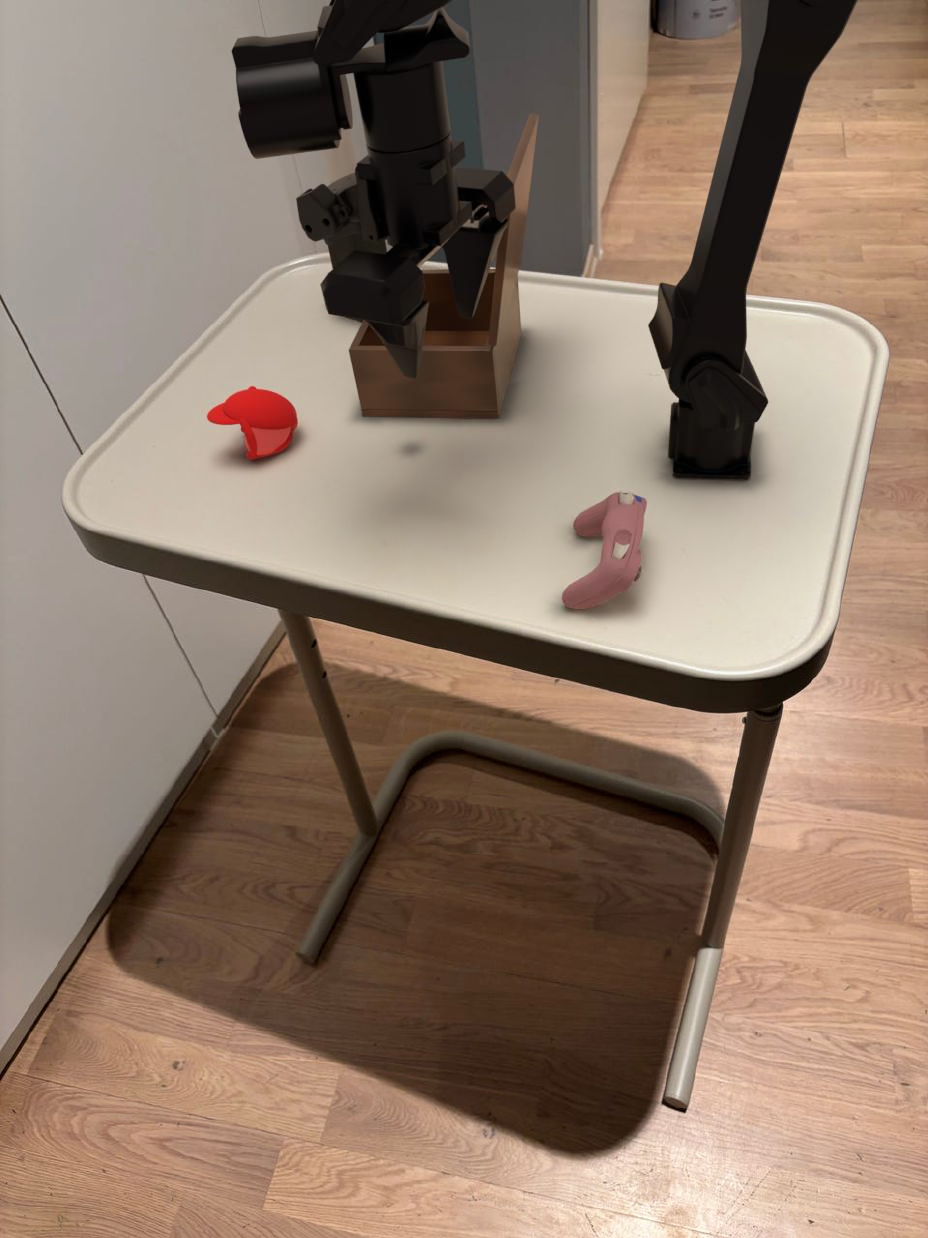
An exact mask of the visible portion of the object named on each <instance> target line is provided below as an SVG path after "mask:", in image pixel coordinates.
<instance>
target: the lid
mask: <svg viewBox="0 0 928 1238" xmlns="http://www.w3.org/2000/svg"><path fill="white" fill-rule="evenodd" d="M538 124H539V113H529V116H528V118H527V122H526V124H525V126H524V129H523V132H522V134H521V137H520V140H519V143H518V145H517V148H516V151H515V153H514V157H513V159H512V162H511V165H510V166H509V170H508V172H507V174H506V176H507V177H508V178H509V179H510V180H511V181H512V183H513V184H514V191H515V204H516V209H515V210H514V211H513V212H512V213H511V214H510V215H509V216H508V217H507V218H508V226H507V227H506V228H505V230H504V232H503V235H502V237H501V240H500V243H499V245H498V248H497V251H496V257H495V258H496V259H495V268H494V269H495V278H494V288H493V298H492V308H491V319H490V329H489V339H488V345H492V346H497V343H498V340H499V336H500V333H501V329H502V326H503V323H504V319H505V316H506V313H507V309H508V306H509V303H510V299H511V296H512V293H513V289H514V286H515V282H516V279H517V276H518V277H519V272H520V269H521V266H522V259H523V252H524V251H523V250H524V242H525V235H526V225H527V217H528V209H529V200H530V192H531V183H532V174H533V167H534V159H535V151H536V150H535V149H536V143H537V142H536V141H537V134H538V126H539V125H538Z"/></svg>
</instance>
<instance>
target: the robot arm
mask: <svg viewBox="0 0 928 1238" xmlns="http://www.w3.org/2000/svg"><path fill="white" fill-rule="evenodd" d="M452 1H453V0H330V1H329V4H328V5H324V6H323V7H322V8H321V11H320V12H321V13H320V15H319V19H318V23H317V26H316V28H317V30H311V31H305V32H297V33H291V34H283V35H277V36H259V35H250V36H244V37H243V36H242V37H237V39H236V40H235V42H234V45H233V46H232V49H231V55H232V59H233V63H234V66H235V67H234V68H235V83H236V92H237V98H238V99H237V100H238V105H239V110H238V120H239V124H240V127H241V131H242V134H243V138H244V141H245V143H246V146H247V149H248V150H249V153H250V154H251V156H252V157H253V158H254V159H256V160H259V159H267V158H268V159H269V158H273V157H274V158H275V157H281V156H289V155H295V154H304V153H311V152H318V151H319V152H320V151H324V150H327V149H334V148H338V147H339V145H340V140H342V135H341V128H343V129H344V130H346V129H350V130H352V129H353V125H354V121H353V120H354V118H353V108H352V101H351V94H350V89H349V83H348V78H347V75H349V74H353V79H354V84H355V90H356V95H357V101H358V106H359V112H360V117H361V123H362V129H363V134H364V139H365V145H366V151H367V155H366V156H364V157H363V158H361V159H360V160H359V161H357V162H356V168H355V173H352V174H350V175H347V176H345V177H342V178H340V179H338V180H336V181H335V182H333V183H331V182H330V184H328V185H326V184H324V183H321V184H319V185H317V186H316V187H315V188H308V189H306V190H305V191H304V192H303V193H301V194H299V195H298V196H297V197H296V198H295V201H296V208H297V215H298V220H299V223H300V225H301V228H302V230H303V232H304V233H305V235H306V237H307V238H308V239H309V240H310V241H313V242H316V243H317V242H319V241H322V240H323V241H324V243H325V245H326V246H328V245H331V244H334V243H335V242H336V241H337V239H339V238H342V237H345V236H348V235H351V234H354V233H357V232H360V231H362V234H363V239H364V240H366V241H374V242H378V241H379V240H381V239H385V241H386V244H387V245H388V246H390V247H391V248H390V249H389V250H387V253H385V254H379V253H371V252H363V251H353V252H352V253H351V254H350V255H349V256H348V257H346V258H345V259H344V260H343V261H342V262H341V263H339V264H338V265H337V266H336V267H335V268H334V269H333V268H332V269H331V270H330V271H329V272H328V273H327V274H326V276H325V277H324V278H323V279H322V281H321V283H320V284H319V285H320V290H321V294H322V298H323V301H324V306H325V310H326V312H327V314H328V315H331V316H336V317H337V316H338V317H342V318H347V317H348V318H347V319H350V318H353V319H352V320H354V319H359V320H364V321H365V322H367V323H368V324H369V325H370V326H371V328H372V329H373V330H374V331H375V333H376V334H377V335H378V336H379V338H380V339H381V341H382V342H383V344H384V346H385V347H386V349H387V350H388V352H389V353H390V355H391V357H392V358H393V360H394V361H395V363H396V365H397V366H398V368H399V369H400V371H401V373H402V374H403V376H404V377H406V378H411V379H416V378H417V377H418V375H419V370H420V365H421V359H422V351H423V343H424V336H425V328H426V321H427V313H428V305H429V301H428V300H422V298H423V294H424V289H425V282H424V276H423V272H422V270H423V269H421V267H422V266H423V265H424V264H425V263H426V262H427V261H428V260H429V259H431V258H432V256H434V254H435V253H437V252H438V251H439V250H440V249H441V248H442V250H443V252H444V256H445V261H446V264H447V269H448V270H449V275H450V279H451V284H452V288H453V293H454V297H455V301H456V305H457V308H458V311H459V315H460V316H461V317H462V318H468V319H471V318H472V317H473V316H474V313H475V310H476V308H477V305H478V302H479V299H480V296H481V293H482V290H483V287H484V284H485V281H486V278H487V275H488V273H489V270H490V269H491V266H492V264H493V261H494V259H495V256H496V254H497V248H498V245H499V243H500V240H501V237H502V235H503V232H504V230H505V228H506V227H507V226H508V218H507V217H508V216H509V215H510V214H511V213H512V212H513V211H514V210H515V209H516V204H515V191H514V184H513V183H512V181H511V180H510V179H509V178H508V177H507V174H505V172H503V170H496V169H494V170H493V169H485V168H484V169H481V168H472V167H471V168H469V167H459V166H457V165H458V164H459V163H460V162H461V161H463V160H464V159H465V158H466V157H467V155H466V145H465V140H453V139H452V132H451V123H450V115H449V114H450V113H449V107H448V106H449V105H448V98H447V90H446V81H445V74H444V73H445V72H444V65H443V64H444V63H443V62H447V61H451V60H452V61H453V60H458V59H466V58H467V57H469V55H470V53H471V46H470V37H469V36H470V35H469V32H468V30H466V29H465V28H464V27H462V26H461V25H459V24H458V23H457V22H455V20H453V19H452V18H451V17H450V16H449V15H448V13H447V12H446V9H445V8H444V7H445V6H447V5H448V4H450V3H451V2H452ZM858 1H859V0H740V36H741V37H740V40H741V41H740V43H741V44H740V45H741V57H740V66H739V70H738V74H737V78H736V82H735V86H734V90H733V94H732V96H731V97H732V98H731V102H730V106H729V110H728V114H727V118H726V122H725V125H724V130H723V133H722V137H721V141H720V146H719V150H718V154H717V157H716V162H715V166H714V169H713V174H712V178H711V182H710V186H709V190H708V194H707V198H706V202H705V205H704V209H703V214H702V218H701V221H700V226H699V230H698V234H697V238H696V241H695V246H694V249H693V254H692V259H691V262H690V263H689V266H688V269H687V271H686V272H685V273H684V274H683V276H682V277H681V278H680V280H679V281H678V282H677V284H671V283H666V282H660V283H659V284H658V289H657V304H656V310H655V312H654V315H653V317H652V319H651V320H650V321H649V323H648V325H647V326H648V330H649V333H650V336H651V340H652V342H653V346H654V348H655V352H656V355H657V358H658V362H659V364H660V367H661V370H663V372H664V375H665V378H666V381H667V384H668V387H669V390H670V391H671V392H672V394H673V395H674V396H675V397H676V398H677V399H678V401H674V402H672V403H671V404H670V414H669V415H670V417H669V430H668V431H669V432H668V446H667V458H668V459H669V460H672V473H671V474H672V476H673V477H674V478H676V479H699V480H700V479H702V480H704V479H705V480H734V481H735V480H737V481H738V480H739V481H746V480H748V481H749V480H750V479H751V478H752V456H751V455H752V454H751V453H752V447H753V440H754V434H755V426H756V423H758V422H759V421H760V419H761V417H762V415H763V414H764V412H765V410H766V408H767V406H768V405H769V399H768V397H767V395H766V394H767V393H766V392H765V390H764V388H763V384H762V383H761V381H760V379H759V376H758V374H757V372H756V369H755V368H754V367H755V366H754V365H753V363H752V361H751V358H750V356H749V354H748V351H747V339H748V326H747V325H748V323H747V322H748V319H747V292H748V291H747V290H748V285H749V281H750V278H751V275H752V272H753V268H754V264H755V262H756V258H757V255H758V253H759V252H758V251H759V249H760V245H761V242H762V238H763V235H764V231H765V228H766V225H767V221H768V218H769V215H770V213H771V212H770V211H771V208H772V204H773V202H774V199H775V195H776V192H777V188H778V186H779V182H780V178H781V174H782V173H783V169H784V165H785V162H786V158H787V155H788V152H789V149H790V145H791V142H792V139H793V135H794V132H795V128H796V125H797V121H798V118H799V115H800V112H801V108H802V105H803V102H804V99H805V95H806V92H807V88H808V85H809V83H810V81H811V79H812V77H813V76H814V74H815V72H816V71H817V70H818V68H819V67H820V65H821V64H822V62H824V60H825V59H826V58H827V56H828V54H829V53H830V52H831V51H832V49H833V48H834V47H835V45H836V44H837V42H838V41H839V40H840V38H841V37H842V35H843V33H844V31H845V28H846V27H847V24H848V22H849V20H850V18H851V16H852V14H853V12H854V9H855V8H856V5H857V3H858ZM432 13H433V15H432V16H431V18H430V19H429V20H428V21H427V22H426V23H425V24H418V25H413V24H414V23H415V22H417V21H419V20H421V19H423V18H425V17H427V16H428V15H430V14H432ZM409 25H411V26H409ZM412 25H413V26H412ZM376 34H383V35H382V37H383V38H382V39H383V42H381V43H377V44H374V45H371V46H366V44H368V43H369V42H370V41H371V39H373V38H374V36H376ZM365 46H366V47H365Z"/></svg>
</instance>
